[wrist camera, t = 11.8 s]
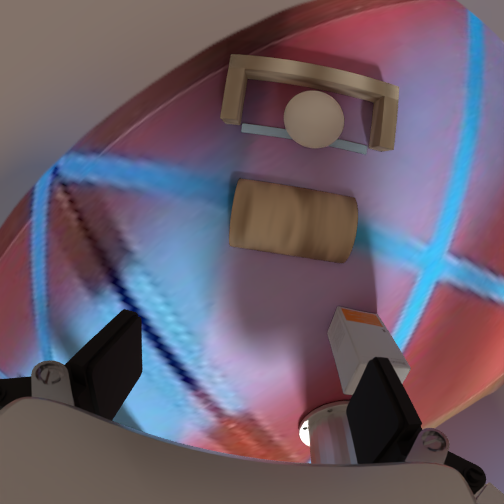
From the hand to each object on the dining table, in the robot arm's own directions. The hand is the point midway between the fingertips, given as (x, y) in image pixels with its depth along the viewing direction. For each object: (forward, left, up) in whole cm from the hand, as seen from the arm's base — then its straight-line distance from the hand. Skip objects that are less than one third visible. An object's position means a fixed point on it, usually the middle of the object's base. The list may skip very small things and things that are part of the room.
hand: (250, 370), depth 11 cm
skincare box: (-13, +9, -23) cm, 28 cm away
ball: (-3, -13, -20) cm, 24 cm away
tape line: (-3, -12, -23) cm, 26 cm away
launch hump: (-3, -2, -28) cm, 28 cm away
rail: (-3, -15, -23) cm, 28 cm away
